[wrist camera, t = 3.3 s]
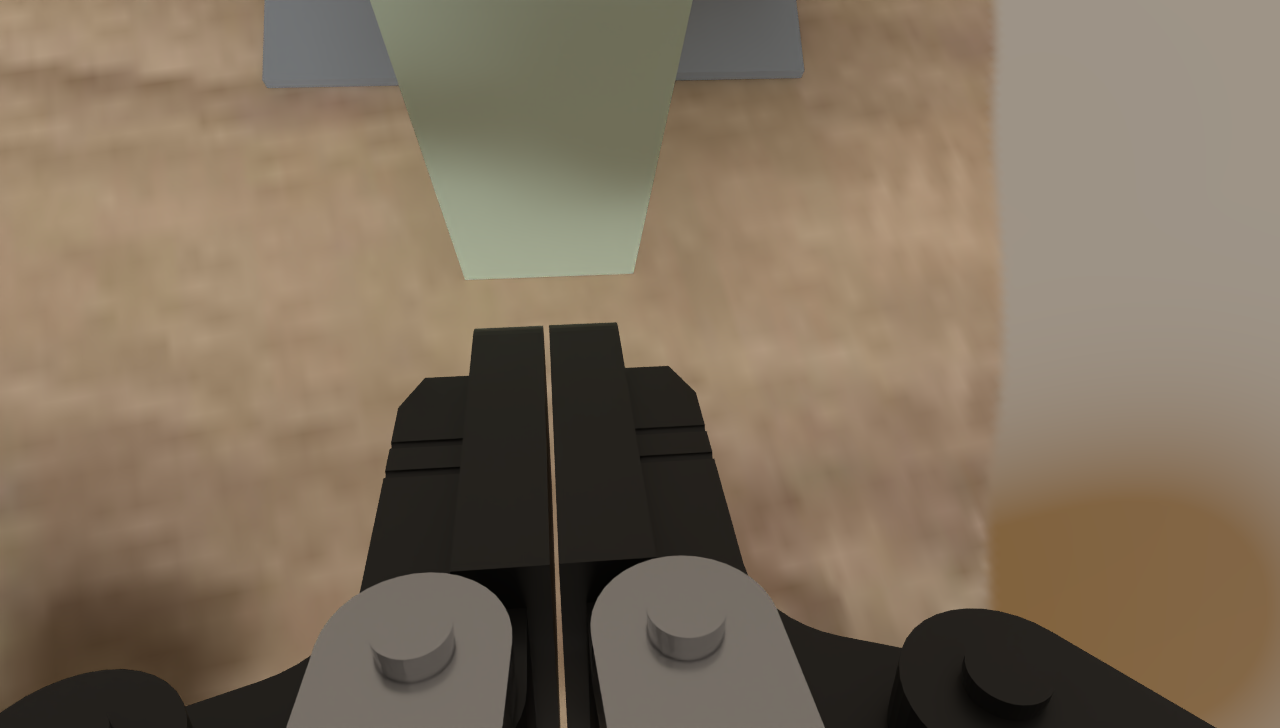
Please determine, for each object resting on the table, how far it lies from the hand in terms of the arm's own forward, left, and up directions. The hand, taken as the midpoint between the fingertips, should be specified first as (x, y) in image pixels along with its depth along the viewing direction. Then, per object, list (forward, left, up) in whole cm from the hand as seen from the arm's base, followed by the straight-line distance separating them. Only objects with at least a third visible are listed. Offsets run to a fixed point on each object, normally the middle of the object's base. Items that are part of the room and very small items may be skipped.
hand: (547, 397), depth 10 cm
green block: (-8, 0, -14) cm, 16 cm away
